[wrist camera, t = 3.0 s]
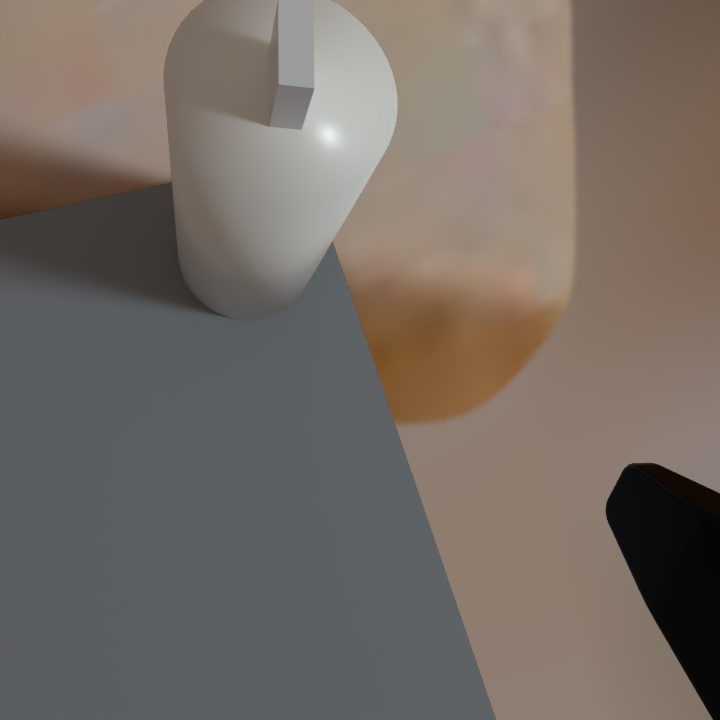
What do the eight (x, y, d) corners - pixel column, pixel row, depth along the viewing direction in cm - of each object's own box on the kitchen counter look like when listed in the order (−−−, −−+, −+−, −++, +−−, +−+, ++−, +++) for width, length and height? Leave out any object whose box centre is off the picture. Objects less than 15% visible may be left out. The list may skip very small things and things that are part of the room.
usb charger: (312, 322, 22) (425, 176, 11) (176, 318, 21) (156, 153, 10) (310, 198, 23) (415, -52, 12) (179, 187, 22) (163, -97, 11)
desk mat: (506, 770, 22) (517, 781, 21) (-90, 1091, 17) (-103, 1120, 16) (299, 164, 24) (302, 154, 23) (-296, 295, 19) (-317, 287, 18)
